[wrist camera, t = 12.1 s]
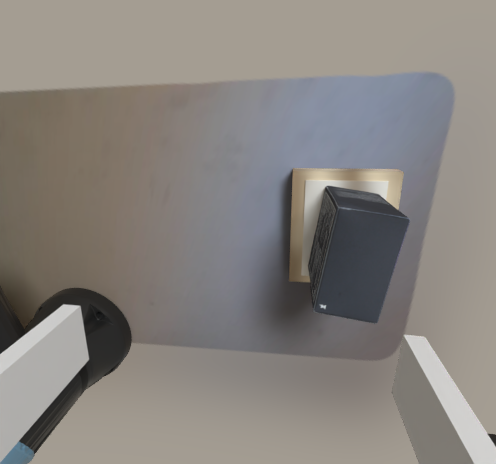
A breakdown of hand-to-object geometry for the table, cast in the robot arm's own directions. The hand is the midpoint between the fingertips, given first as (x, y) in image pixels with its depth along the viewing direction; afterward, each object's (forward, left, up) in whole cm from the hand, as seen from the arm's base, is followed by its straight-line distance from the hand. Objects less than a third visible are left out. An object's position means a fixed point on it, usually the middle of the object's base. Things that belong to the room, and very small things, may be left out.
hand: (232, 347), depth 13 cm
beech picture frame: (+8, -3, -29) cm, 30 cm away
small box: (+8, -4, -27) cm, 28 cm away
